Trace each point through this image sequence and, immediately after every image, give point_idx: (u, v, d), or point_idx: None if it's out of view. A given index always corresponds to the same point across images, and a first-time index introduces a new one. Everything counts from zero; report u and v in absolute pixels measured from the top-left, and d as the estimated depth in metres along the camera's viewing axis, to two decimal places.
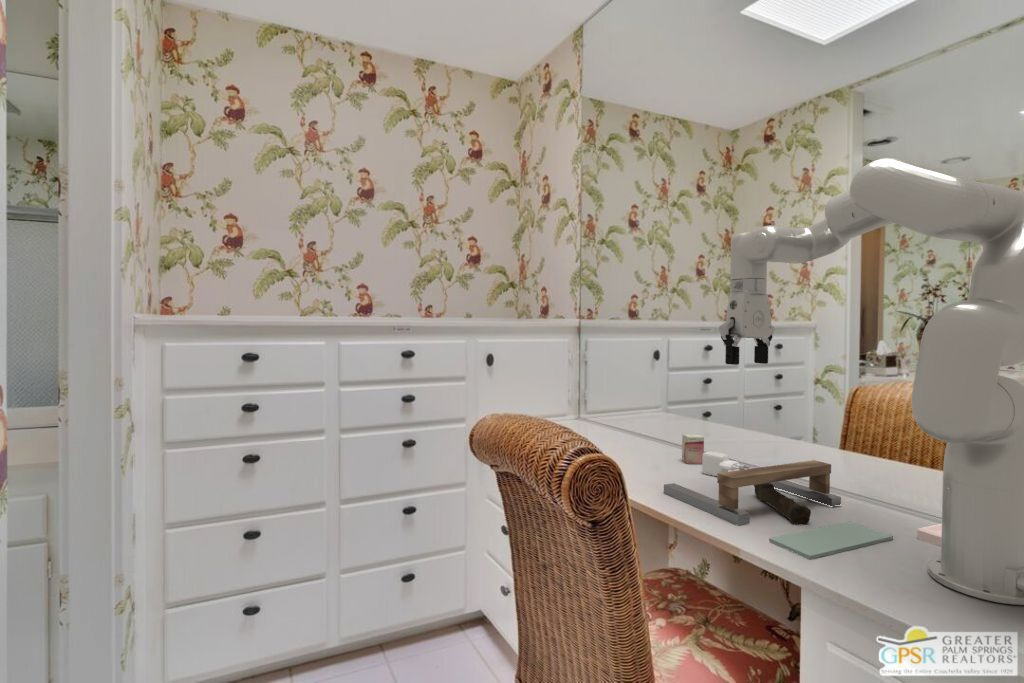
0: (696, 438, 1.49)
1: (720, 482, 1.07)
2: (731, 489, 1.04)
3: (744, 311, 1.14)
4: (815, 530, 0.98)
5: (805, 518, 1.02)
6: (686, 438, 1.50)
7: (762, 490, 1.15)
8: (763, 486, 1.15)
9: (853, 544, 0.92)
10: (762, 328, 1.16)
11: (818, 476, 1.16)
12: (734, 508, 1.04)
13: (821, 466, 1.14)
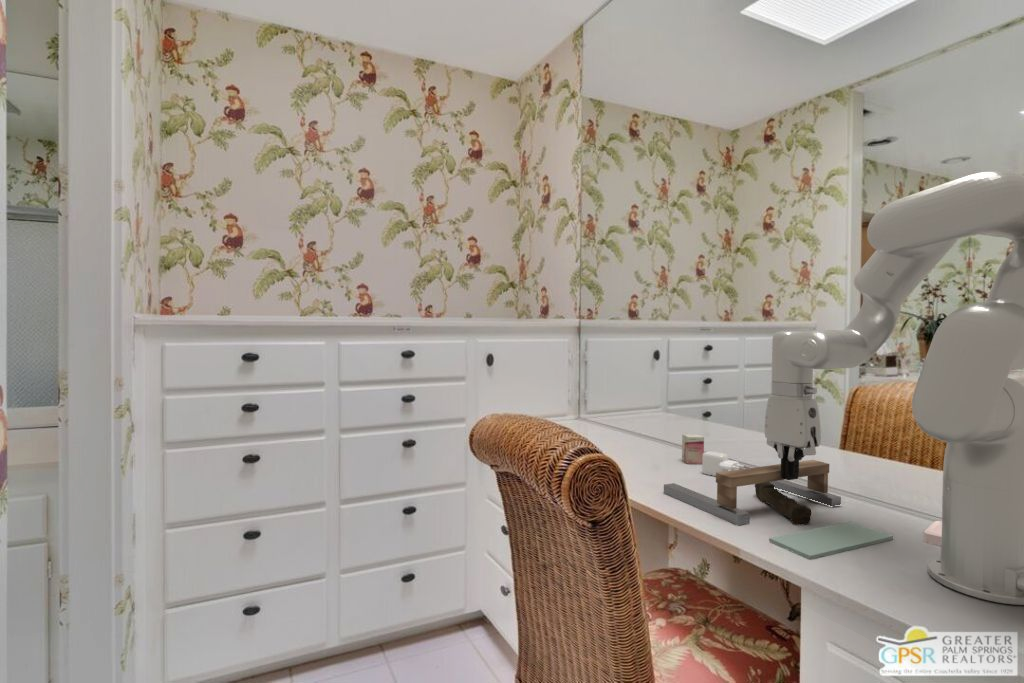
0: (696, 438, 1.49)
1: (718, 481, 1.07)
2: (729, 488, 1.05)
3: None
4: (815, 530, 0.98)
5: (806, 518, 1.02)
6: (686, 438, 1.50)
7: (763, 491, 1.15)
8: (764, 486, 1.15)
9: (853, 544, 0.92)
10: None
11: (816, 475, 1.17)
12: (732, 507, 1.04)
13: (819, 466, 1.14)
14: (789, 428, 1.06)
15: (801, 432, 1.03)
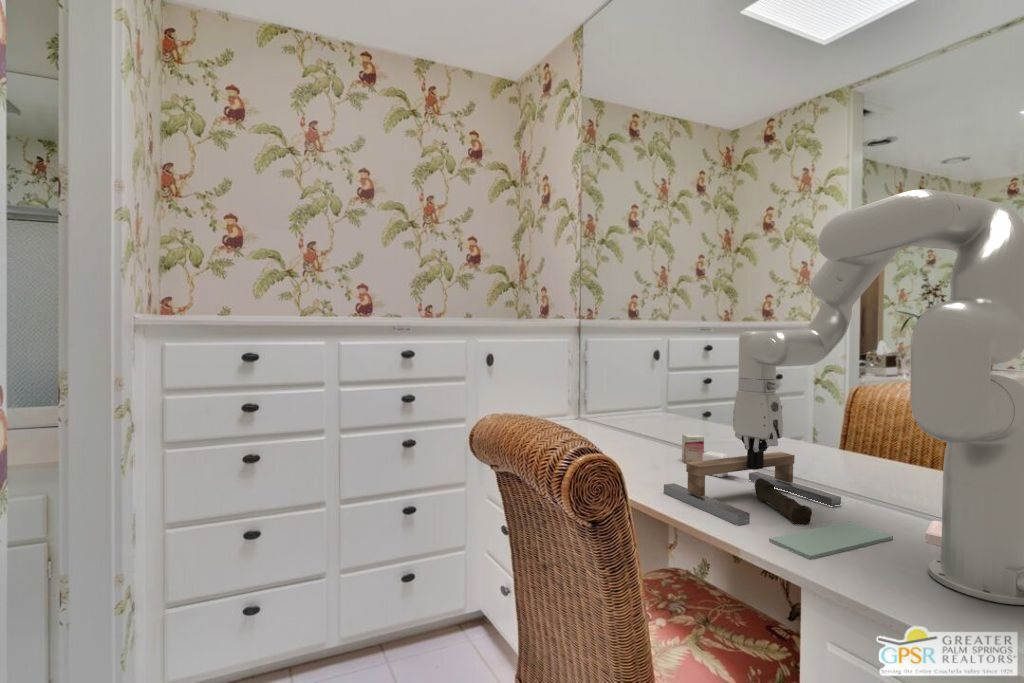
0: (696, 438, 1.49)
1: (689, 471, 1.15)
2: (698, 477, 1.13)
3: None
4: (815, 530, 0.98)
5: (807, 518, 1.02)
6: (686, 438, 1.50)
7: (763, 491, 1.15)
8: (764, 486, 1.15)
9: (853, 544, 0.92)
10: None
11: (782, 466, 1.25)
12: (701, 495, 1.12)
13: (785, 457, 1.22)
14: (753, 421, 1.14)
15: (764, 425, 1.11)
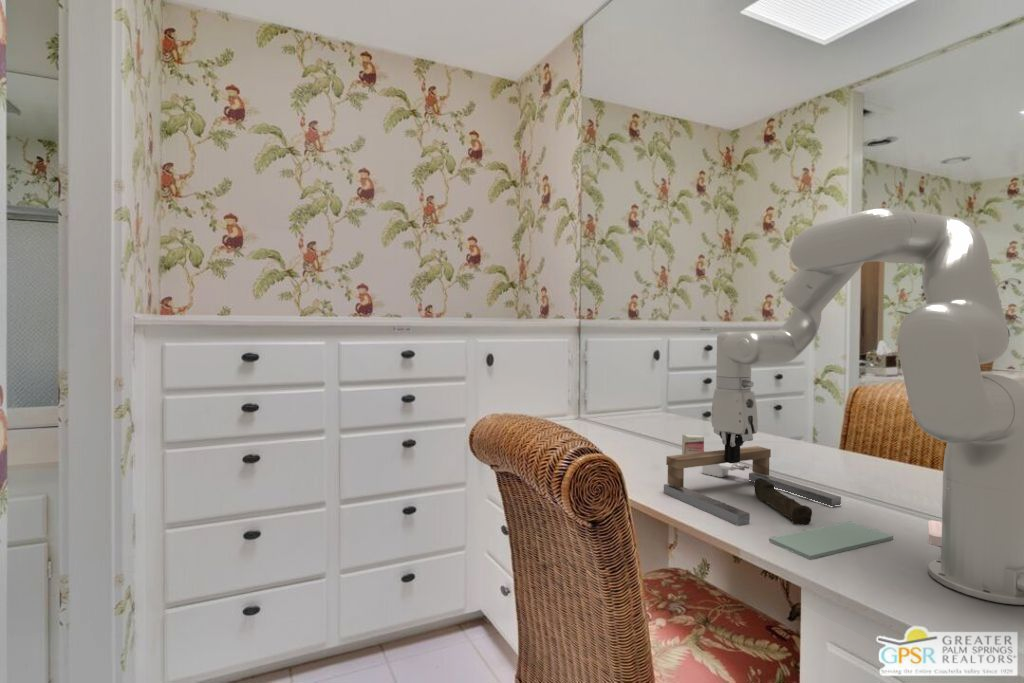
0: (696, 438, 1.49)
1: (668, 464, 1.21)
2: (677, 470, 1.19)
3: None
4: (815, 530, 0.98)
5: (807, 518, 1.02)
6: (686, 438, 1.50)
7: (763, 491, 1.15)
8: (763, 486, 1.15)
9: (853, 544, 0.92)
10: None
11: (759, 460, 1.31)
12: (680, 486, 1.19)
13: (761, 451, 1.28)
14: (730, 417, 1.20)
15: (740, 420, 1.18)
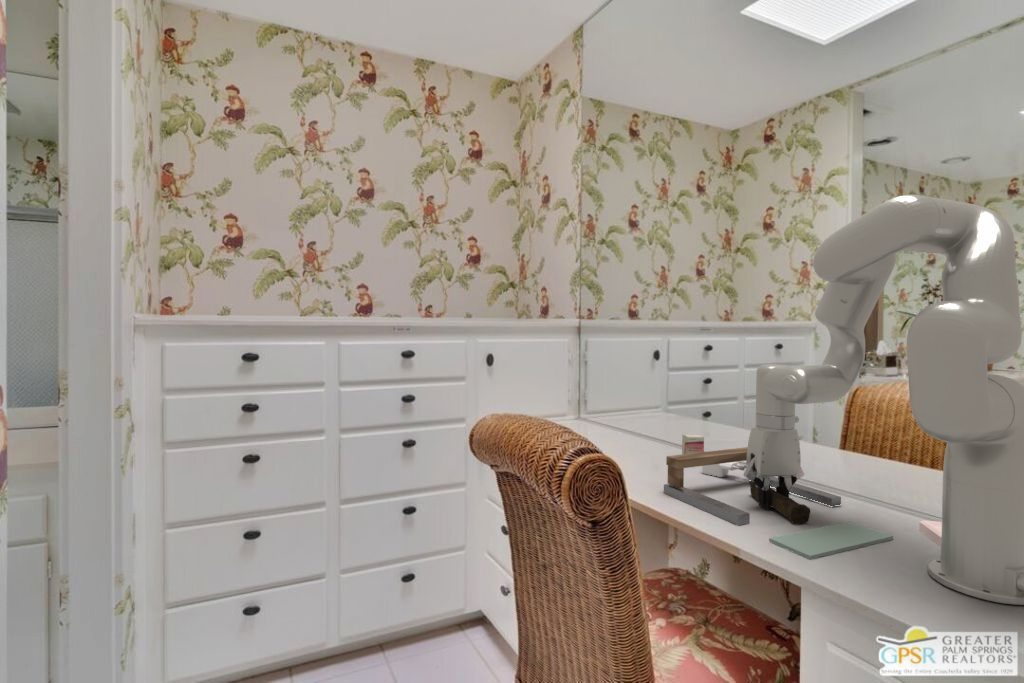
0: (696, 438, 1.49)
1: (668, 464, 1.21)
2: (677, 470, 1.19)
3: None
4: (815, 530, 0.98)
5: (805, 517, 1.02)
6: (686, 438, 1.50)
7: None
8: None
9: (853, 544, 0.92)
10: None
11: None
12: (680, 486, 1.19)
13: None
14: (788, 459, 1.10)
15: (798, 460, 1.10)
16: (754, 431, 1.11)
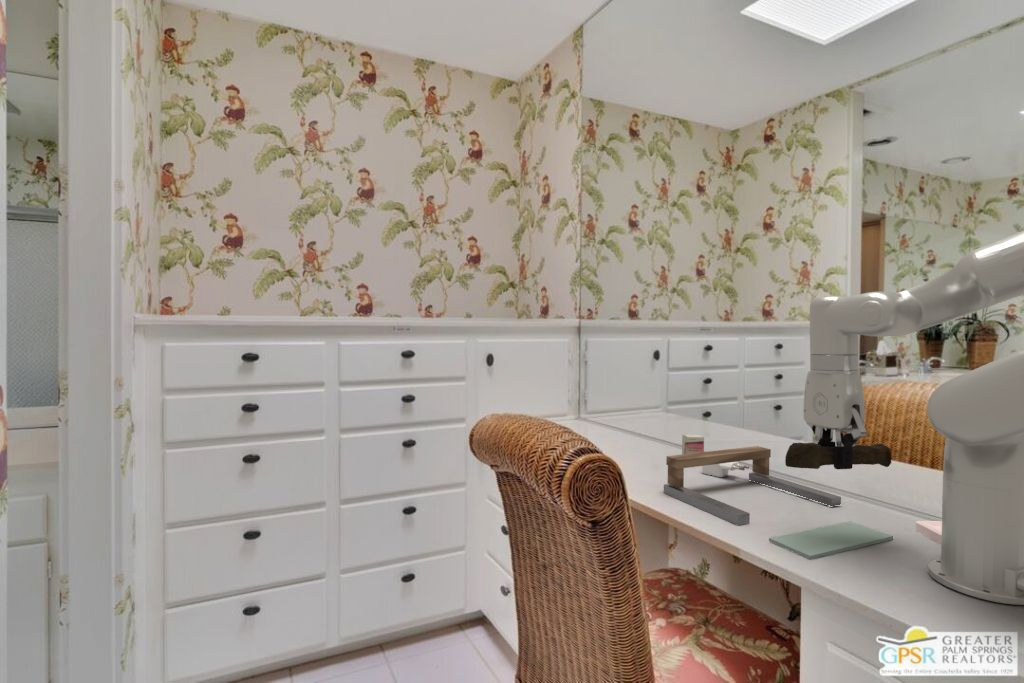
0: (696, 438, 1.49)
1: (668, 464, 1.21)
2: (677, 470, 1.19)
3: (805, 392, 0.98)
4: (815, 530, 0.98)
5: None
6: (686, 438, 1.50)
7: (821, 453, 0.93)
8: (820, 447, 0.93)
9: (853, 544, 0.92)
10: (825, 416, 0.93)
11: (759, 460, 1.31)
12: (680, 486, 1.19)
13: (761, 451, 1.28)
14: None
15: None
16: (851, 377, 0.90)
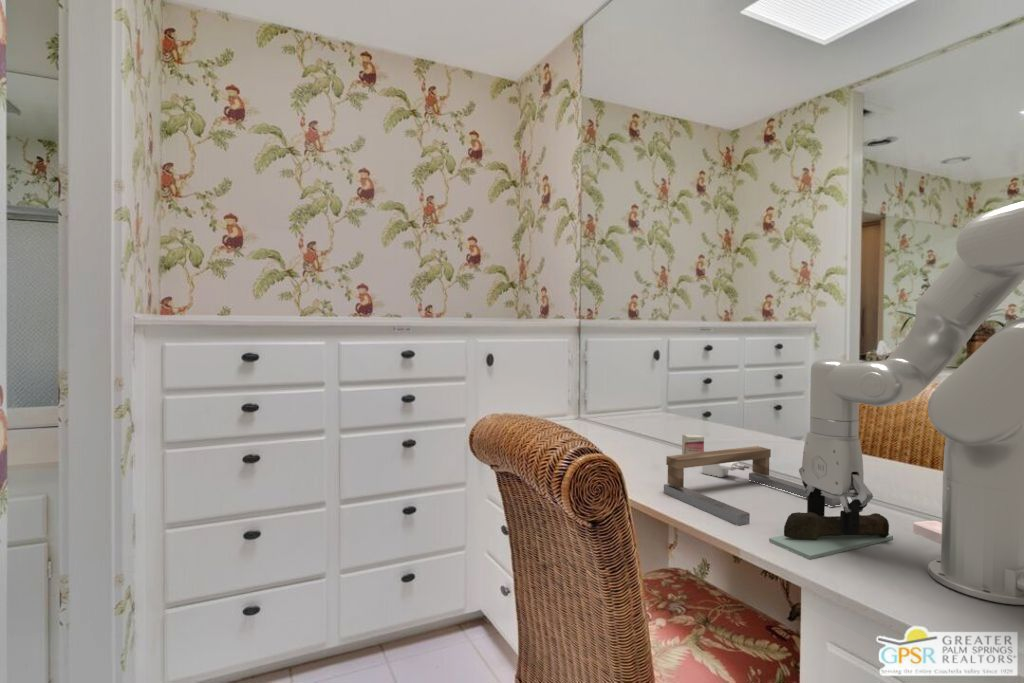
0: (696, 438, 1.49)
1: (668, 464, 1.21)
2: (677, 470, 1.19)
3: (804, 452, 0.98)
4: None
5: None
6: (686, 438, 1.50)
7: (820, 524, 0.93)
8: (819, 518, 0.93)
9: (853, 544, 0.92)
10: (824, 480, 0.93)
11: (759, 460, 1.31)
12: (680, 486, 1.19)
13: (761, 451, 1.28)
14: None
15: None
16: (851, 444, 0.90)
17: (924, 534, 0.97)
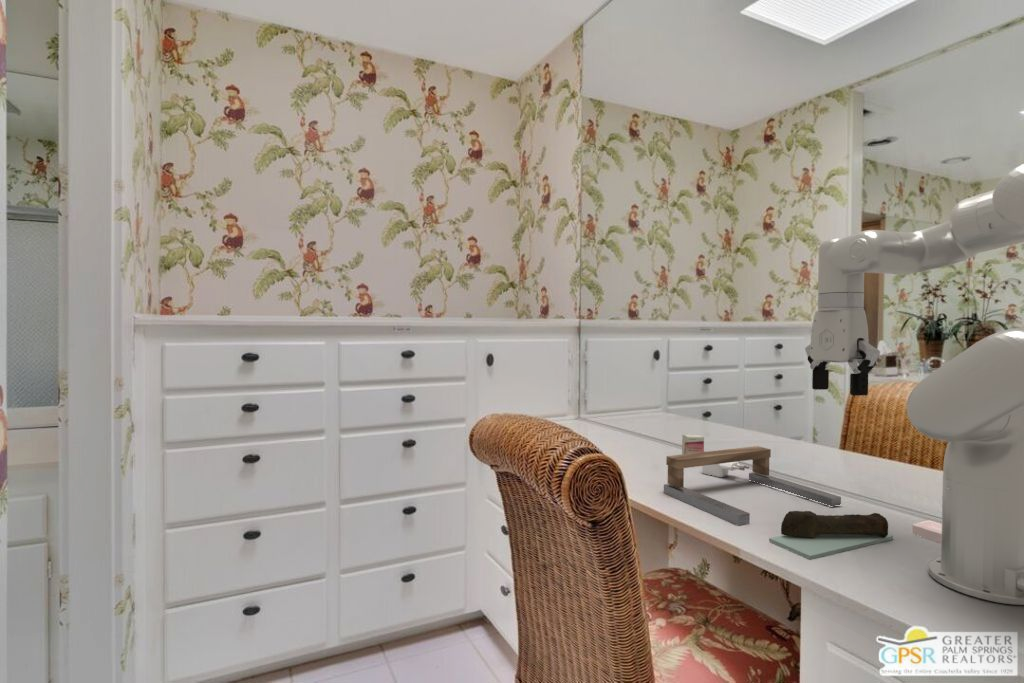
0: (696, 438, 1.49)
1: (668, 464, 1.21)
2: (677, 470, 1.19)
3: (812, 331, 1.04)
4: None
5: None
6: (686, 438, 1.50)
7: (817, 523, 0.94)
8: (816, 517, 0.94)
9: (853, 544, 0.92)
10: (831, 350, 0.99)
11: (759, 460, 1.31)
12: (680, 486, 1.19)
13: (761, 451, 1.28)
14: None
15: None
16: (857, 312, 0.96)
17: (926, 536, 0.96)
